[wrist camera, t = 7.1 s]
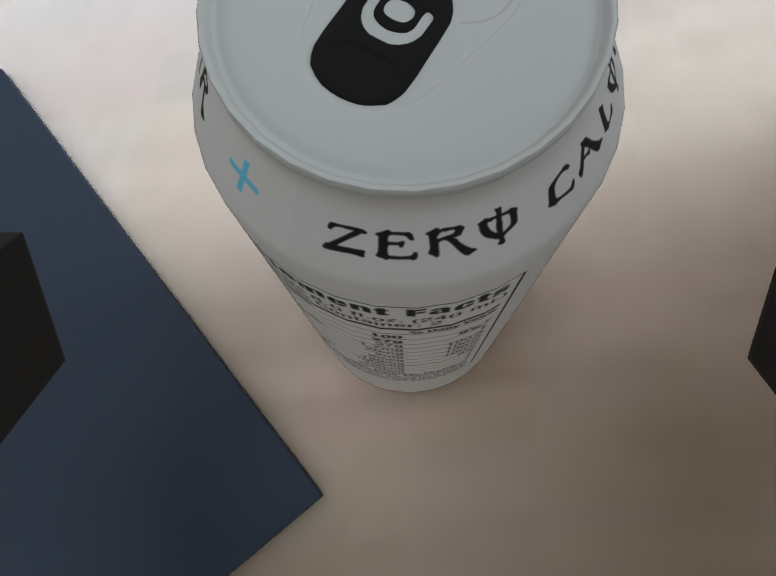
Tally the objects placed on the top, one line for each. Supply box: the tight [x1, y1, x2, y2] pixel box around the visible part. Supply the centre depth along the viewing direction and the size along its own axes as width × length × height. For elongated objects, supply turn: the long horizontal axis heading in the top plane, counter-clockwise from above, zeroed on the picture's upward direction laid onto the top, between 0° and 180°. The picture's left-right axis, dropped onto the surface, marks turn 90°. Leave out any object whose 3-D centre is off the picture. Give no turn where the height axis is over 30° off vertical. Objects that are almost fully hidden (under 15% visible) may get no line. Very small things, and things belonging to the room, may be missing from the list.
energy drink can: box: [192, 0, 625, 392], centre depth 15 cm, size 6×6×15 cm
